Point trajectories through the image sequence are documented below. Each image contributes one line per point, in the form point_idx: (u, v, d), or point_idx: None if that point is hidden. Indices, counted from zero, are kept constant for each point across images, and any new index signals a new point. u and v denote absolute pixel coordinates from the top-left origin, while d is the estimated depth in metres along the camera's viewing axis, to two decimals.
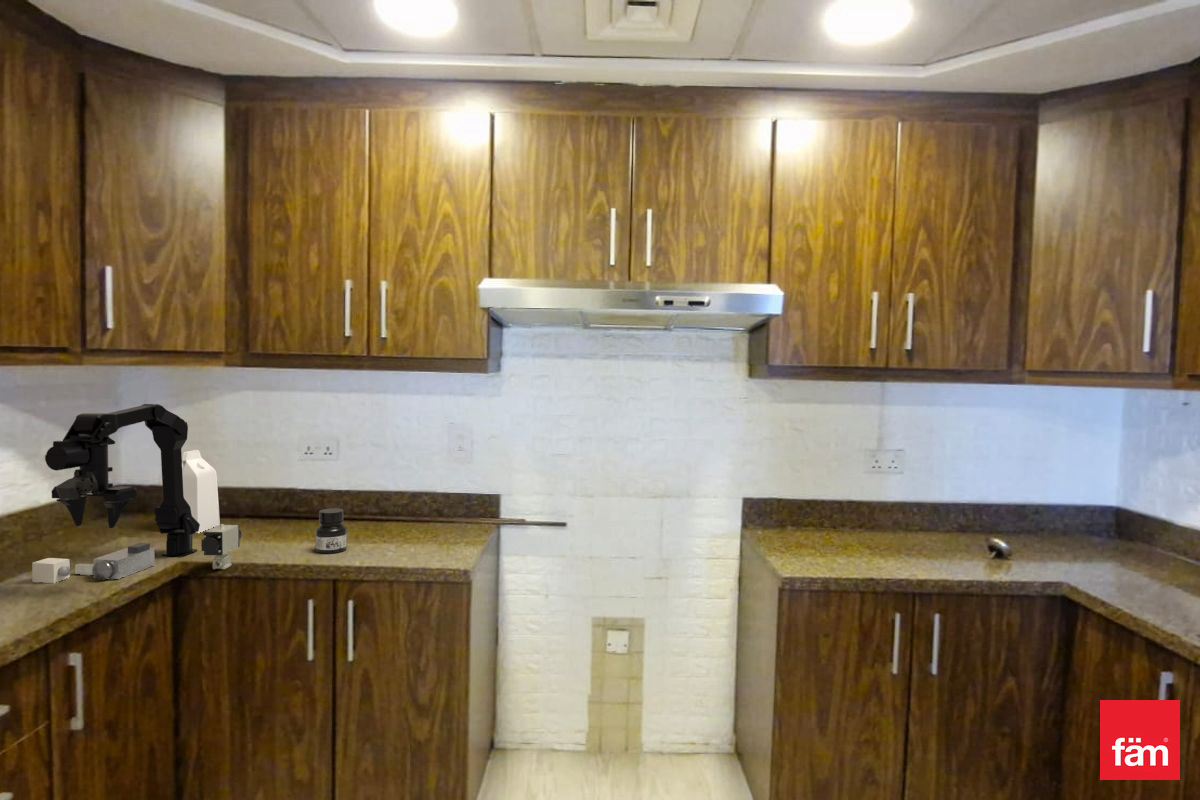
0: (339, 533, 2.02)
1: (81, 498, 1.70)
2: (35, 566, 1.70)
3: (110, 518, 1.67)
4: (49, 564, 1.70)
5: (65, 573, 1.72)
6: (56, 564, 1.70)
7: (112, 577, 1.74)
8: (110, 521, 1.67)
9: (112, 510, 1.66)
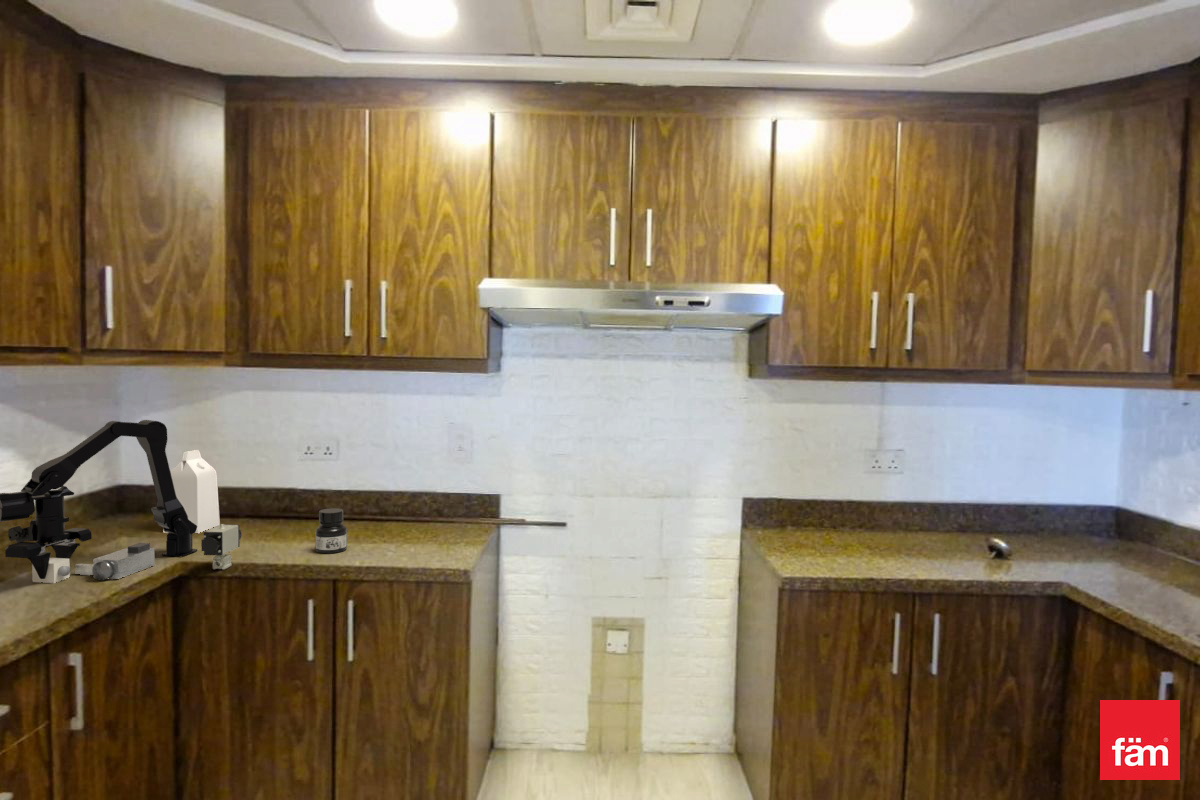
0: (339, 533, 2.02)
1: (66, 547, 1.75)
2: None
3: None
4: (49, 564, 1.70)
5: (65, 573, 1.72)
6: (56, 564, 1.70)
7: (112, 577, 1.74)
8: None
9: None
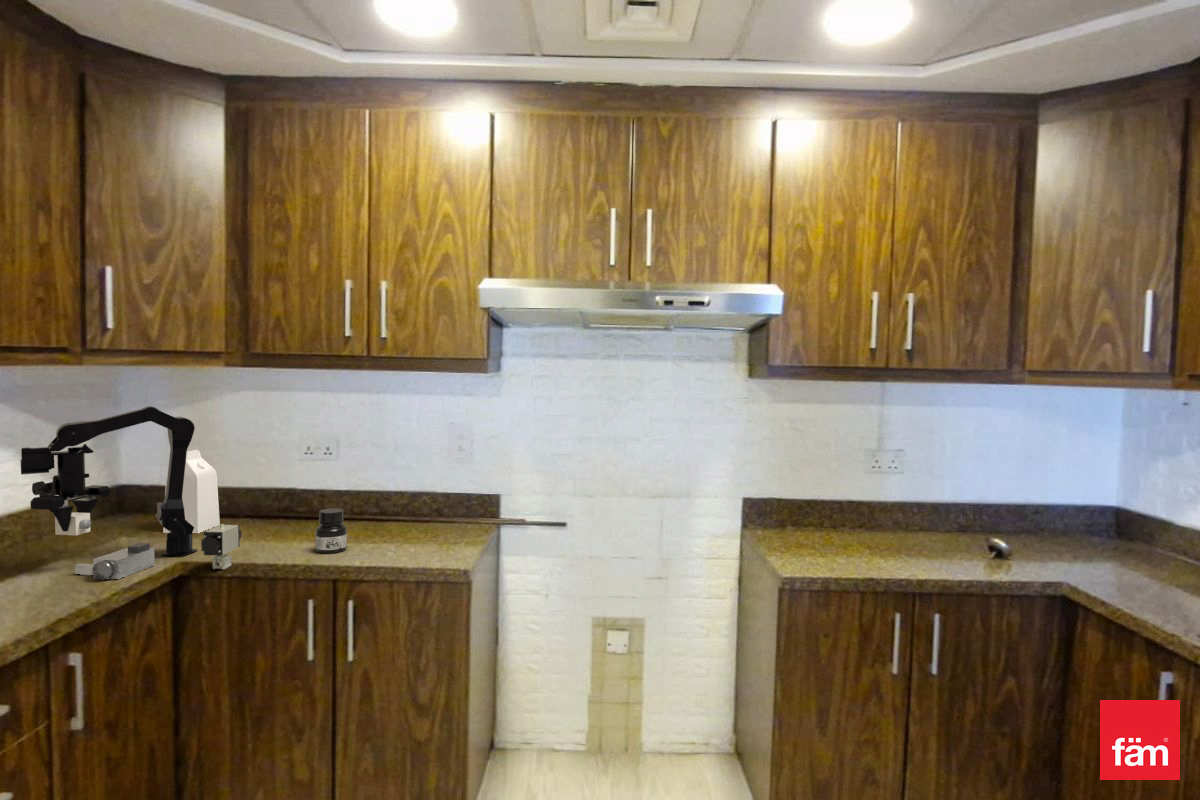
0: (339, 533, 2.02)
1: (86, 502, 1.83)
2: None
3: None
4: (71, 517, 1.78)
5: (86, 526, 1.80)
6: (78, 517, 1.79)
7: (112, 577, 1.74)
8: None
9: (54, 514, 1.77)
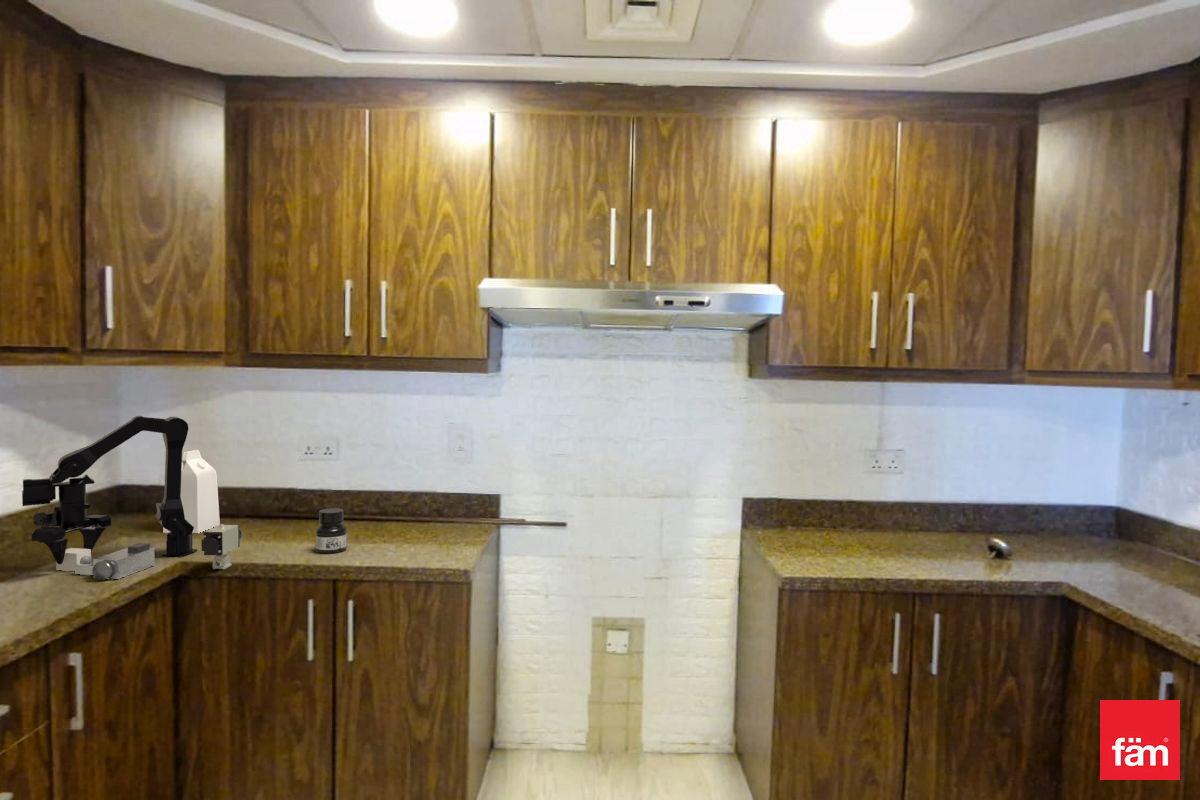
0: (339, 533, 2.02)
1: (93, 531, 1.85)
2: None
3: None
4: (72, 554, 1.79)
5: (87, 562, 1.81)
6: (79, 554, 1.80)
7: (112, 577, 1.74)
8: None
9: None
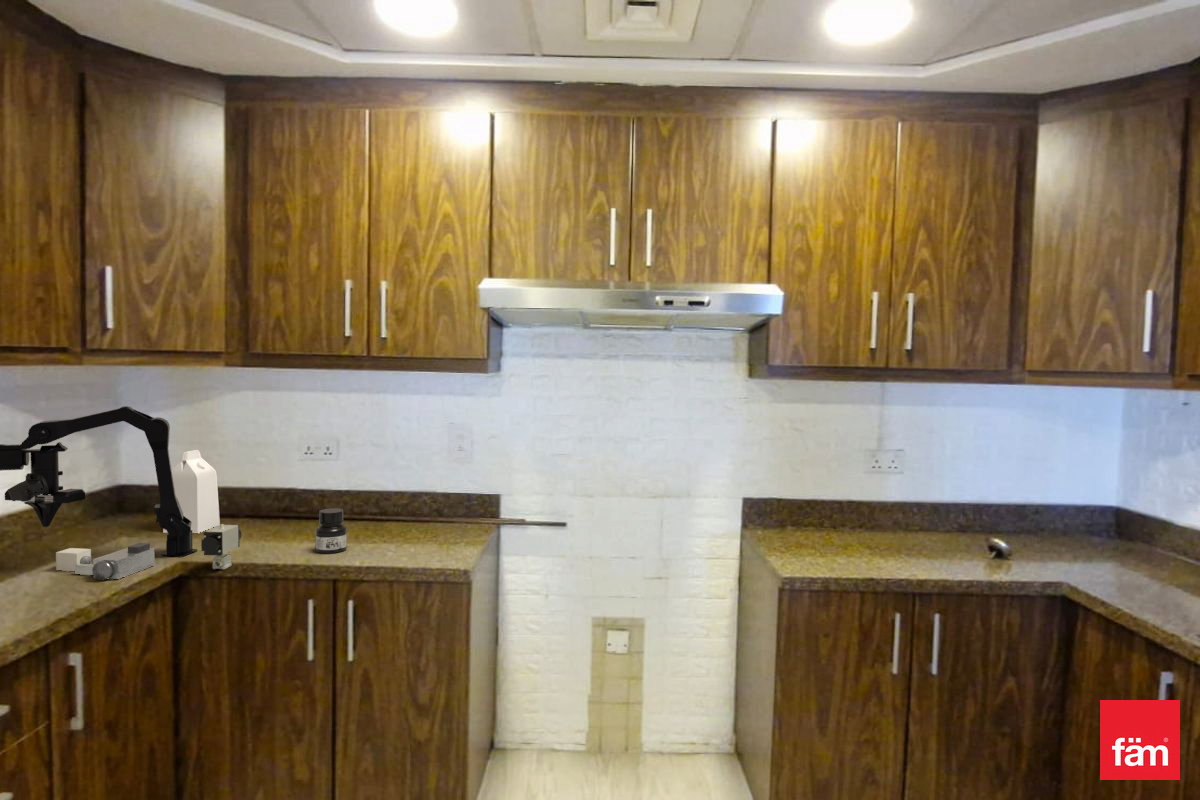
0: (339, 533, 2.02)
1: None
2: (58, 556, 1.79)
3: (45, 517, 1.81)
4: (72, 554, 1.79)
5: (87, 562, 1.81)
6: (79, 554, 1.80)
7: (112, 577, 1.74)
8: (45, 520, 1.81)
9: (46, 510, 1.80)
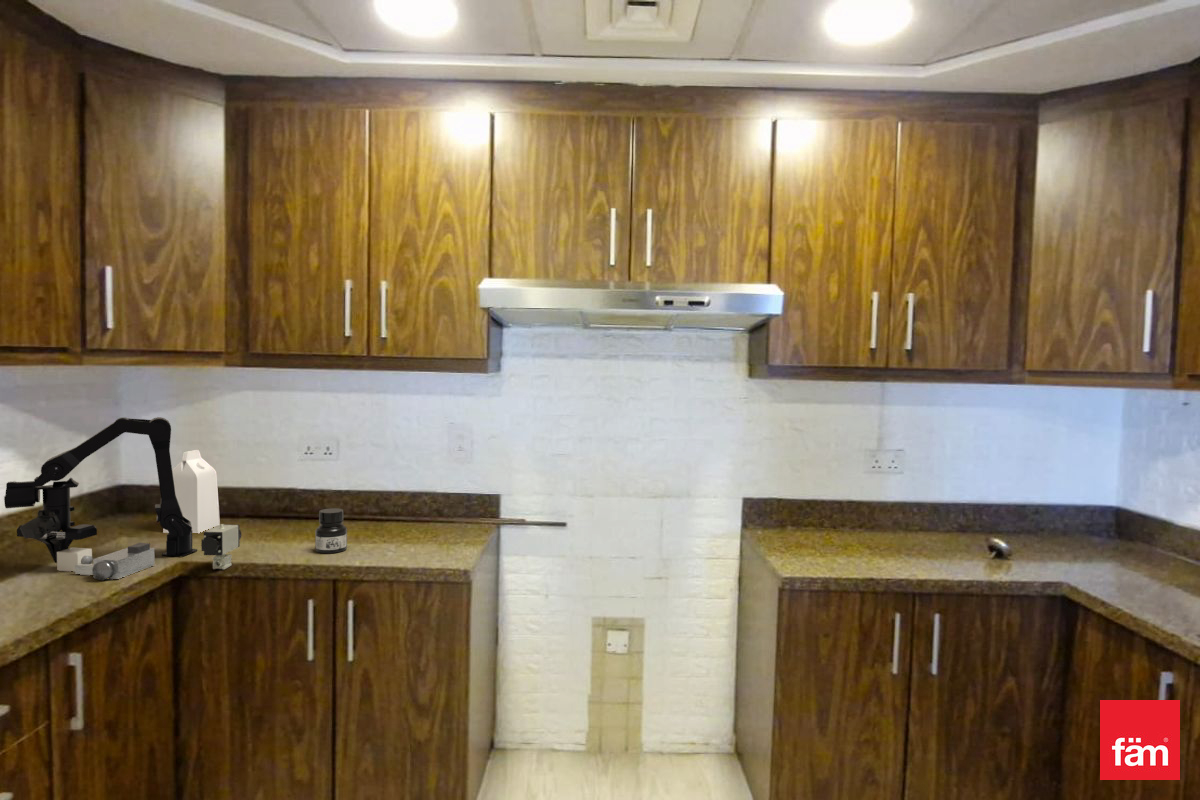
0: (339, 533, 2.02)
1: None
2: (59, 555, 1.79)
3: None
4: (73, 553, 1.79)
5: (88, 562, 1.81)
6: (80, 553, 1.79)
7: (112, 577, 1.74)
8: None
9: (58, 546, 1.80)
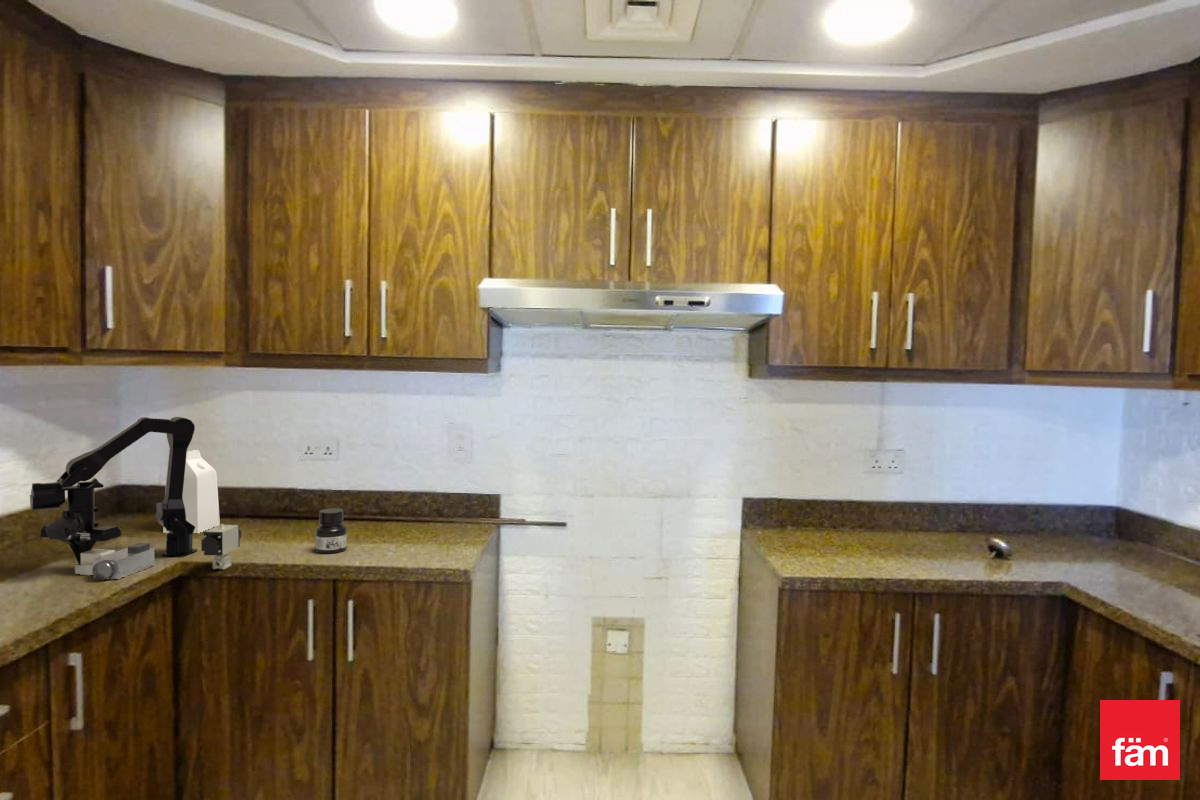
0: (339, 533, 2.02)
1: None
2: (83, 557, 1.78)
3: (80, 555, 1.80)
4: (97, 555, 1.78)
5: None
6: (103, 555, 1.79)
7: (112, 577, 1.74)
8: (80, 557, 1.80)
9: (82, 547, 1.79)
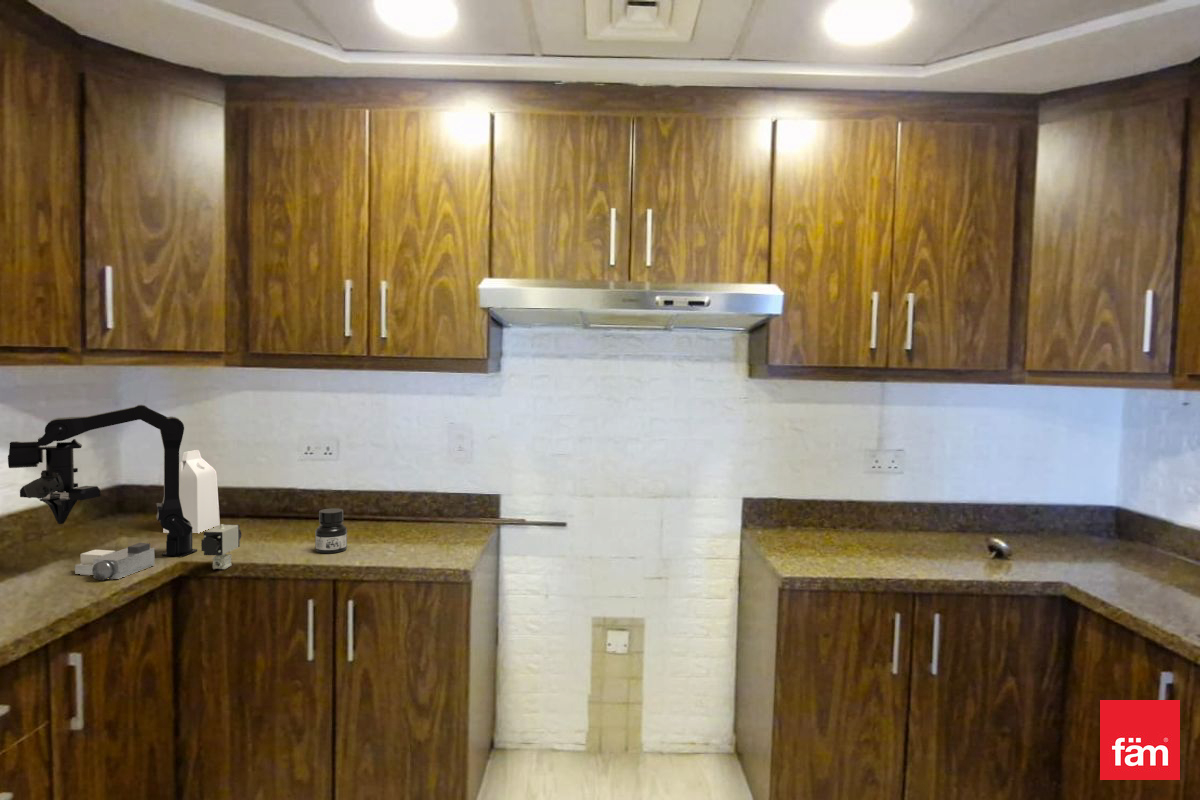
0: (339, 533, 2.02)
1: None
2: (83, 558, 1.78)
3: (60, 515, 1.80)
4: (97, 555, 1.78)
5: None
6: (103, 555, 1.79)
7: (112, 577, 1.74)
8: (60, 517, 1.80)
9: (62, 507, 1.80)
